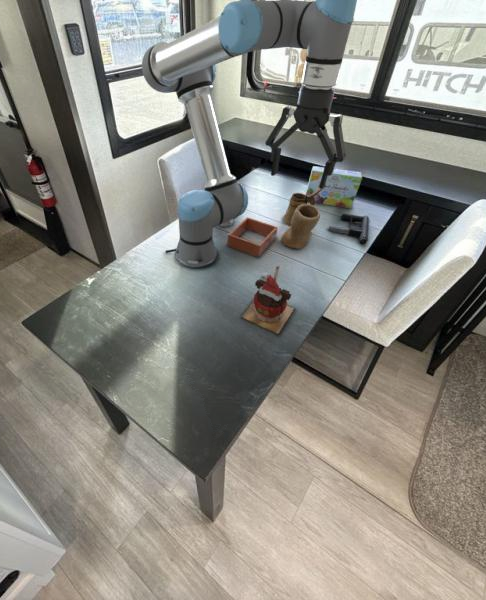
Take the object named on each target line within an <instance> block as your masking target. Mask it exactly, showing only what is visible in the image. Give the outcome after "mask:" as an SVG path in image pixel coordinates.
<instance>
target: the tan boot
mask: <svg viewBox="0 0 486 600" xmlns="http://www.w3.org/2000/svg"><path fill="white" fill-rule="evenodd" d="M320 218H321V211H320V210H319V209H318V208H317V207H316V205H314V206H313V205H310V203H307V204H302V205H300V206H298V207H297V208H296V210H295V211H294V214H293V216H292V220H291V225H289V227H288V228H287V229H286V231H284V233H283V234H282V235H281V237H280V243H282V244H283V245H285V246H286V247H288V248H291V249H297V250H298V249H302V248H303V247H305V245H307V244H308V242H309V240H310V239H311V237H313V234H314V233H313V232H312V231H313V230H314V229H315V227H317V225H318V224H319V221H320Z"/></svg>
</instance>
